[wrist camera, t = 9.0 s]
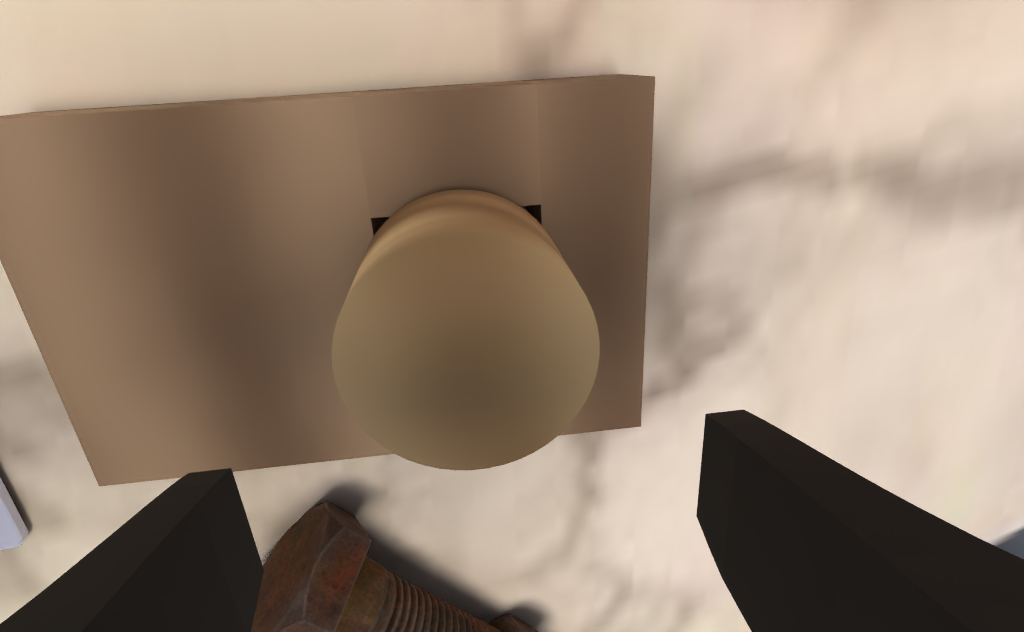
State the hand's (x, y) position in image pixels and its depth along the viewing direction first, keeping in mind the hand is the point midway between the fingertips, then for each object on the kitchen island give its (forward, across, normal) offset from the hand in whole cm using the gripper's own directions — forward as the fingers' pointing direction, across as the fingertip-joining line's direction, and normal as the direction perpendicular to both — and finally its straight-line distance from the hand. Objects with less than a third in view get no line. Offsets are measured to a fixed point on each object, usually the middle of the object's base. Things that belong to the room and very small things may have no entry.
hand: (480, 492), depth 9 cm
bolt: (+11, +2, +15) cm, 19 cm away
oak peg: (+10, 0, -1) cm, 10 cm away
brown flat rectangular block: (+10, +3, 0) cm, 11 cm away
